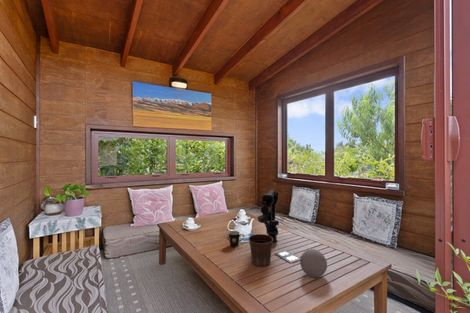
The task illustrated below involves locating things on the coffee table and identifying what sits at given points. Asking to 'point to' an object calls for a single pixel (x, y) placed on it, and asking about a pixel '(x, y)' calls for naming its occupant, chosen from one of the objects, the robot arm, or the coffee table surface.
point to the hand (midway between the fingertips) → (268, 231)
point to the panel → (288, 256)
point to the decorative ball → (313, 263)
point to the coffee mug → (234, 238)
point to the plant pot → (260, 249)
